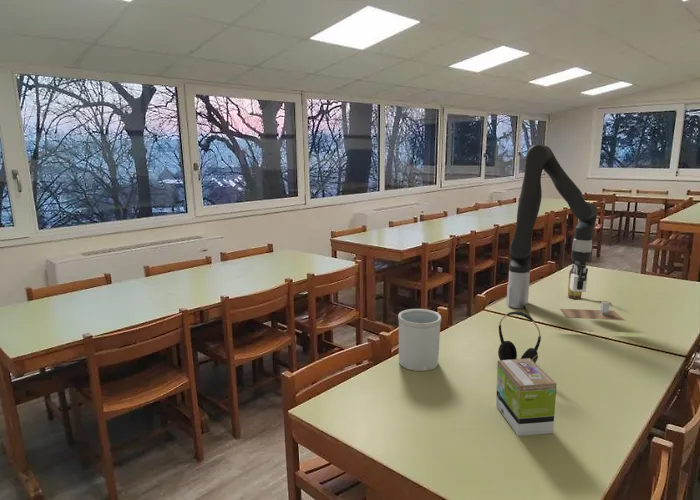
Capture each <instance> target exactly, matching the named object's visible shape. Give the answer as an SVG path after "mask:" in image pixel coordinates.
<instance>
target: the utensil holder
mask: <svg viewBox="0 0 700 500" xmlns="http://www.w3.org/2000/svg"><path fill="white" fill-rule="evenodd" d="M397 319H398V362H399V365H400V366H401V367H403V368H405V369H407V370H410V371H416V372H425V371H426V372H427V371H431V370H434V369H435V368H437V366H438V365H439V358H440V357H439V355H440V353H439V352H440V340H441V339H440V337H441V323H442V315H441V314H440V313H439V312H436V311H435V310H431V309H425V308H410V309H405V310H402V311H400V312H399V313H398V316H397Z"/></svg>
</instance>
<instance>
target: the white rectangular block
mask: <svg viewBox="0 0 700 500" xmlns="http://www.w3.org/2000/svg"><path fill="white" fill-rule="evenodd" d="M581 278H583V277H581ZM577 279H578V276H577V275H576V274H571V278H570V289H571V290H572V291H577V292H582V293H586V292H587V284H588V283H587V282H588V276H587V277H586V281H583V289H582V290H578V289H577V282H578V280H577Z"/></svg>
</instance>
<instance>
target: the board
mask: <svg viewBox="0 0 700 500" xmlns="http://www.w3.org/2000/svg"><path fill="white" fill-rule="evenodd" d="M559 310H560V311H561V313H562V314H563V315H564V316H565V317H566V318H567V319H583V320H584V319H585V320H586V319H589V320H592V319H593V320H610V321H611V320H613V321H617V320H618V321H625V319H624V318H623V317H622V316H621V315H620V314H618V312H616V311H615V310H610V309H609V316H602V315H601V314H600V309H578V308H577V309H574V308H573V309H571V308H559Z"/></svg>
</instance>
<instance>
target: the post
mask: <svg viewBox="0 0 700 500" xmlns="http://www.w3.org/2000/svg"><path fill="white" fill-rule="evenodd" d="M599 310H600V314H601V315H602V316H609V310H610V303H609V301H600V309H599Z"/></svg>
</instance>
